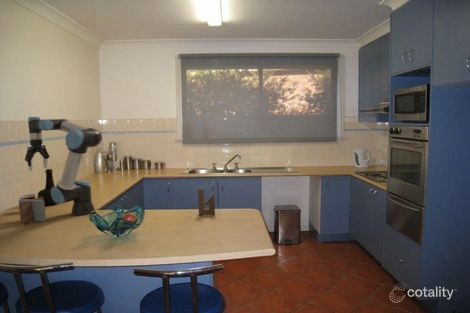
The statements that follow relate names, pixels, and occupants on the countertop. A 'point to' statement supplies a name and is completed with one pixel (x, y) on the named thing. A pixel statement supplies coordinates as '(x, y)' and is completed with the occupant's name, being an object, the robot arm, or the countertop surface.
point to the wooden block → (206, 203)
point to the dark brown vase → (47, 189)
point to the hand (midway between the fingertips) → (38, 169)
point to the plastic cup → (28, 196)
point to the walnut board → (27, 211)
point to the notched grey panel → (37, 209)
